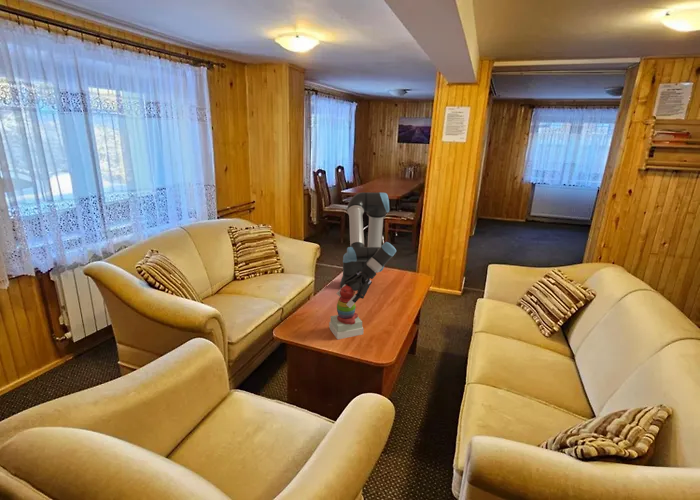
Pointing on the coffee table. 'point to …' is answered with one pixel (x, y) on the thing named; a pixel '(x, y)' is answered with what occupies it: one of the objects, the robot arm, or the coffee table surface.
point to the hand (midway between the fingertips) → (343, 300)
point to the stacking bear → (343, 310)
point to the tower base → (346, 333)
